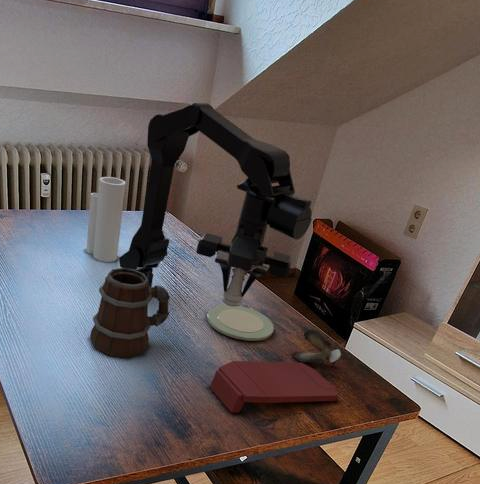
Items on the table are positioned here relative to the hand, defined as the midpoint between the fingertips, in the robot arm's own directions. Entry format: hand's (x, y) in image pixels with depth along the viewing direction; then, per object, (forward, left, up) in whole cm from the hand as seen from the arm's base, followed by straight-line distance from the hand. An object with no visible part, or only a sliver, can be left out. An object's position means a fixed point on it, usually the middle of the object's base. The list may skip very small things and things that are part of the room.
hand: (233, 293), depth 113 cm
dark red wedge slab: (-1, -20, -12) cm, 23 cm away
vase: (-7, +50, -12) cm, 52 cm away
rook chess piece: (0, 0, -2) cm, 2 cm away
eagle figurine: (+17, -13, -12) cm, 25 cm away
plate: (+9, +5, -12) cm, 16 cm away
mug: (-21, +5, -12) cm, 25 cm away
